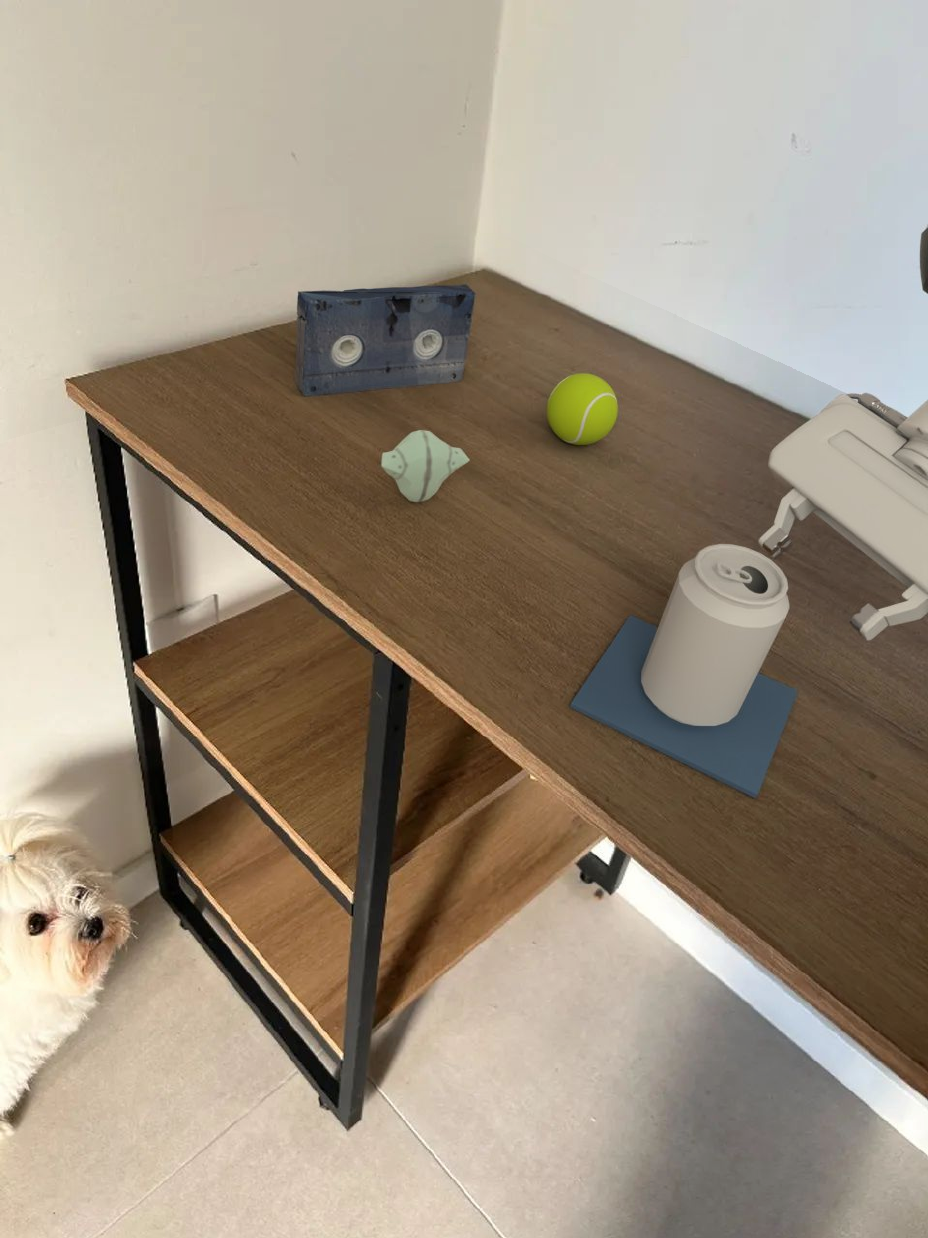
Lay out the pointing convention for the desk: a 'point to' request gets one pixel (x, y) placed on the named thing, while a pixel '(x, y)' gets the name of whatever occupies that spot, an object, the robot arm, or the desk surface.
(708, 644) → the can
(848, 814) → the desk surface
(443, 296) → the vhs cassette tape
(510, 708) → the desk surface
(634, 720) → the mat
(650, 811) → the desk surface
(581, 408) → the tennis ball
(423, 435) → the striped green spinning top
